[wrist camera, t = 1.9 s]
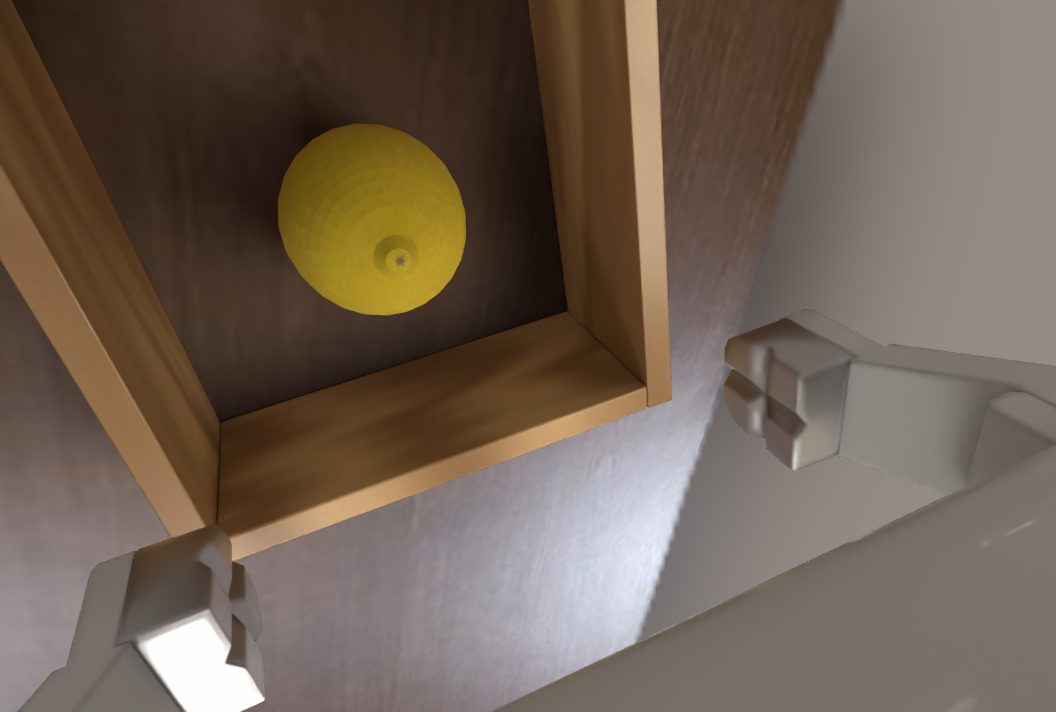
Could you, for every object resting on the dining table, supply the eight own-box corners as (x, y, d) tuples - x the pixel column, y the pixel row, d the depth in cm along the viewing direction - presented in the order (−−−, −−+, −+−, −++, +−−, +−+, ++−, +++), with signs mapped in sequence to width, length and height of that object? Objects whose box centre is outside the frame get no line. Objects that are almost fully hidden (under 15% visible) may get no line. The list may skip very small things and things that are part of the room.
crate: (539, -134, 21) (650, -182, 16) (589, 322, 30) (672, 399, 24) (-58, -49, 17) (-206, -72, 11) (203, 449, 26) (194, 577, 20)
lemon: (398, 279, 26) (452, 376, 19) (250, 232, 23) (256, 326, 17) (453, 145, 24) (532, 200, 18) (302, 77, 22) (330, 113, 15)
